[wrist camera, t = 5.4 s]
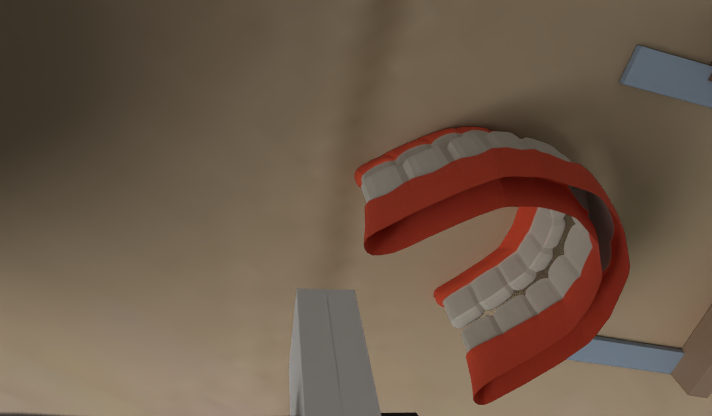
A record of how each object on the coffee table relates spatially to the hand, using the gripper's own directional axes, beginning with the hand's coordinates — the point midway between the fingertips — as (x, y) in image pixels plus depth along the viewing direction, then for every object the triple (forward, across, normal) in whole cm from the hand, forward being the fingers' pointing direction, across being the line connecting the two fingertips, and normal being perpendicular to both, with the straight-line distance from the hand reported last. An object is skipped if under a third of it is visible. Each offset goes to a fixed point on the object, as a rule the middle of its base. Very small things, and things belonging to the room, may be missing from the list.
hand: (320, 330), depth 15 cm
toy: (+16, +10, -4) cm, 19 cm away
